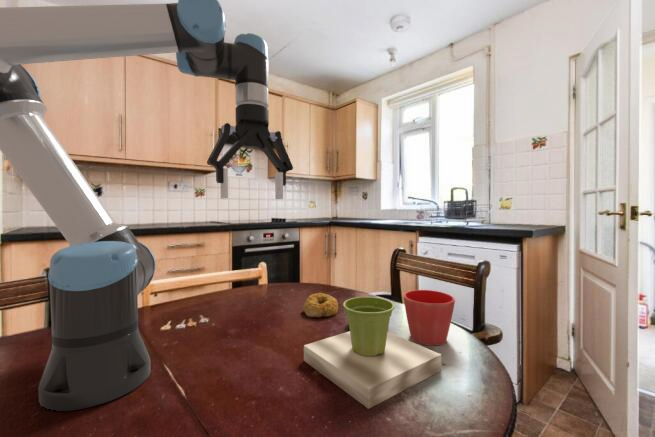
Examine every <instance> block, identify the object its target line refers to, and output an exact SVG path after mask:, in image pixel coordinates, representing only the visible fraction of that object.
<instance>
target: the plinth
mask: <svg viewBox="0 0 655 437" xmlns="http://www.w3.org/2000/svg"><path fill="white" fill-rule="evenodd" d="M303 361H304V362H305V363H306V364H308V365H309V366H311V368H313V369H314V370H315V371H317V372H319V374H321V375H322V376H323V377H325V378H326V379H328V380H329V381H331V382H332V383H333V384H334V385H336V386H337V387H338V388H340V389H341V390H343V391H344V392H345V393H347V395H349V396H350V397H351V398H353V399H354V400H356V401H357V402H358V403H360V404H361V405H362V406H364V407H365V408H366V409H371V408H373V407H375V406H376V405H380V404H381V403H382V402H385V401H387V400H388V399H390V398H392V397H394V396H397V395H398V394H400V393H402V392H404V391H406V390H408V389H410V388H411V387H414V386H415V385H417V384H419V383H420V382H423V381H425V380H426V379H428V378H431V377H433V376H434V375H437V373H438V374H439V373H440V372H442V354H441V353H439V352H436V351H434V350H431V349H429V348H427V347H425V346H422V345H421V344H419V343H417V342H414V341H413V342H412V341H410V340H408V339H406V338H404V337H401V336H399V335H397V334H394V333H392V332H390V331H388V332H387V339H386V346H385V351H384V353H382V354H377V355H376V356H371V357H370V356H362V355H359V354H358V353H357V352H356V351H353V349H352V343H351V335H350V330H349V331H346V332H343V333H342V332H341V333H338V334H336V335H333V336H329V337H325V338H323V339H320V340H316V341H314V342H311V343H307V344H304V345H303Z"/></svg>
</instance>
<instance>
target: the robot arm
mask: <svg viewBox="0 0 655 437" xmlns="http://www.w3.org/2000/svg"><path fill="white" fill-rule="evenodd" d="M225 34H226V22H225V12H224V8H223V7H222V5H221V2H220V1H219V0H178V1H177V2H171V3H170V2H169V3H142V4H141V3H140V4H139V3H136V4H135V3H133V4H129V3H128V4H98V5H97V4H96V5H95V4H94V5H90V4H89V5H87V4H86V5H55V6H53V5H52V6H51V5H49V6H47V5H46V6H44V5H43V6H10V7H9V6H7V7H0V152H1V153H2V155H3V156H4V158H5V159H6V160H7V162H8V163H9V164H10V165H11V167H12V168H13V170H14V171H15V172H16V174H17V175H18V176H19V178H20V180H22V182H23V183H24V185H25V186H26V187H27V189H28V190H29V192H31V194H32V195H33V197H34V198H35V199H36V201H37V202H38V203H39V205H40V206H41V208H42V209H43V210H44V212H45V213H46V214H47V215H48V217H49V218H50V220H51V221H52V223H53V224H54V225H55V227H56V228H57V229H58V231H59V232H60V233H61V235H62V236H63V237H64V239H65V241H66V242H67V243H68V245H69V246H67V247H63V248H61V249H59V250H58V251H56V252H54V253H53V255H52V256H51V258H50V261H49V270H48V273H47V274H48V275H47V278H48V279H47V280H48V282H49V299H50V304H49V305H50V322H51V323H50V324H51V325H50V326H51V351H50V353H49V357H48V359H47V362H46V364H45V367H44V370H43V373H42V376H41V377H40V378H41V379H40V381H39V384H38V390H37V391H38V403H40V404H39V405H40V407H42V406H43V407H45V408H48V409H51V410H50V411H53V410H56V411H55V412H69V411H70V412H71V411H77V410H83V409H88V408H92V407H96V406H99V405H102V404H106V403H108V402H111V401H114V400H115V399H116V400H117V399H118V398H121V397H122V396H125V395H126V394H128V393H130V392H132V391H134V390H136V388H138V387H139V386H141V385H142V384H143V383H144V382H146V380H147V379H148V378H149V377H150V374H151V368H152V367H151V356H150V355H149V354H150V353H149V352H148V349H147V346H146V345H145V342H144V340H143V338H142V336H141V333H140V331H139V308H138V307H139V304H138V298H139V297H138V296H139V295H140V294H141V292H143V291H144V290H145V289H146V288H147V287H148V286H149V285H150V284H151V282H152V280H153V278H154V275H155V271H156V265H157V264H156V260H155V256H154V254H153V252H152V251H151V249H149V247H148V246H146V245H145V244H143V243H142V242H140V241H139V240H138V239H137V237H136V236H135V235H134V233H133V232H132V230H131V229H130V227H129V226H128V225H125V224H122V223H118V222H116V221H115V220H114V218H113V217H112V215H111V214H110V212H109V211H108V209H107V208H106V207H105V205H104V204H103V202H102V201H101V200H100V198H99V197H98V196H97V194H96V192H95V191H94V190H93V188H92V187H91V185H90V183H88V181H87V180H86V178H85V176H84V175H83V174H82V172H81V171H80V170H79V167H77V165H76V163H75V162H74V160H73V159H72V158H71V155H69V153H68V152H67V150H66V149H65V147H64V146H63V145H62V144H61V142H60V141H59V139H58V138H57V136H56V134H55V133H54V131H53V130H52V128H51V127H50V126H49V124H48V123H47V121H46V120H45V116H46V115H47V114H46V113H47V112H48V108H47V106H46V105H45V103H44V101H42V99H41V92H40V89H39V86H38V83H37V81H36V80H35V78H34V77H33V76H32V74H31V73H30V72H29V71H28V70H27V69H26V68H25V67H24V66H22V65H29V64H41V63H42V64H44V63H54V62H56V63H58V62H68V61H70V62H71V61H83V60H95V59H96V60H97V59H109V58H120V57H121V58H122V57H134V56H146V55H147V56H148V55H159V54H170V53H171V54H174V53H175V56H176V64H177V69H178V70H179V72H180V73H181V74H184V75H185V74H186V75H191V76H194V77H204V78H212V79H221V80H229V81H234V90H235V92H234V93H235V94H234V95H235V96H234V97H235V99H234V100H235V105H236V107H235V126H234V125H231V124H230V123H228V122H226V123H224V124H223V125H222V126H221V129H220V136H219V137H218V139H217V141H216V143H215V145H214V147H213V149H212V151H211V153H210V155H209V157H208V158H207V161H206V164H207V165H208V166H211V167H213V168H214V169H215V181H216V183H217V184H220V199H228V198H229V183H228V182H229V174H228V173H229V172H228V168H227V167H225V166H226V165H227V164H228V163H229V161H231V159H232V158H233V157H234V156H235V155H236V153H237V152H238V151H239V150H240V149H241V148H242V147H244V148H245V149H249V148H252V149H255V150H258V149H260V150H261V152H263V154H265V156H266V157H267V158H268V160H269V161H270V164H272V166H274V168H275V169H276V171H277V172H275V174H274V181H275V182H274V183H275V184H274V187H275V189H274V190H275V191H274V192H275V196H274V198H275V200H283V199H284V187H285V186H286V185H287V172H290V171H293V169H294V166H293V163H292V162H291V159H290V157H289V154H288V152H287V150H286V147H285V145H284V142H283V140H282V133H281V131H279V130H278V131H275V132H274V131H270V130H269V125H270V119H269V118H270V117H269V115H270V114H269V112H270V111H269V109H268V108H269V62H270V61H269V53H268V52H269V51H268V45H267V41H265V39H264V38H262V37H261V36H259V35H257V34H254V33H249V32H248V33H240V34H238V35H236V36H235V38H234V42H232V43H231V42H225V36H226V35H225ZM233 133H234V135H235V136H236V138H237V139H236V141H235V142H234V143H233V144H232V146H231V147H230V148H229V149H228V150H227V151H226V152H225V153H224V155H222V157H221V158H220V159H219V156H220V155H221V153H222V152H223V148H224V147H225V145H226V143H227V141H228V139H229V137H230V136H231V135H233ZM269 138H270V140H271V141H272V142H273V143H272V144H273V146H274V148H275V151H276V152H275V151H274V149H273V148H272V144H271V143H270V142H269V141H268V140H269ZM218 159H219V160H218ZM43 407H42V408H43ZM45 408H44V409H45ZM48 409H47V410H48Z"/></svg>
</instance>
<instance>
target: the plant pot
mask: <svg viewBox="0 0 655 437" xmlns="http://www.w3.org/2000/svg"><path fill="white" fill-rule="evenodd" d="M342 305H343V308H344V309H345V315H346V316H347V320H348V327H349V331H350V335H351V343H352V349H353V351H356V352H357V353H358V354H359V355H362V356H370V357H371V356H376V355H377V354H382V353H384V351H385V346H386V339H387V332H389V331H388V326H389V325H390V318H391V317H392V312H393V311H394V310H395V304H394V302H392V301H391V300H388V299H386V298H381V297H378V296H356V297H352V298H349V299H346V300H345V301H344V302H343V303H342ZM389 327H390V326H389Z"/></svg>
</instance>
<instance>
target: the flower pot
mask: <svg viewBox="0 0 655 437" xmlns="http://www.w3.org/2000/svg"><path fill="white" fill-rule="evenodd" d="M403 303H404V308H405V315H406V320H407V325H408V330H409V335H410V338H411V339H412V340H413V342H415V343H417V344H420V345H421V344H422V345H425V346H436V345H437V346H441V345H444V344H445V343H446V342H447V340H448V335H449V332H450V326H451V322H452V317H453V313H454V309H455V308H454V307H455V303H456V299H455V297H454V296H452V295H451V294H448V293H445V292H441V291H437V290H431V289H430V290H428V289H413V290H409V291H407V292H405V293H403Z"/></svg>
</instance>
